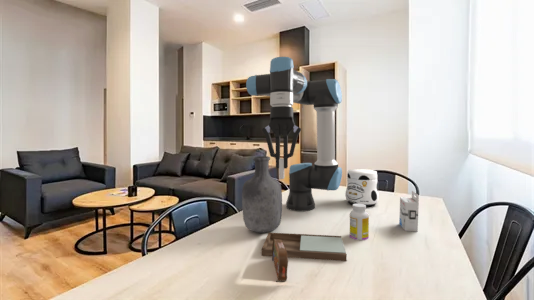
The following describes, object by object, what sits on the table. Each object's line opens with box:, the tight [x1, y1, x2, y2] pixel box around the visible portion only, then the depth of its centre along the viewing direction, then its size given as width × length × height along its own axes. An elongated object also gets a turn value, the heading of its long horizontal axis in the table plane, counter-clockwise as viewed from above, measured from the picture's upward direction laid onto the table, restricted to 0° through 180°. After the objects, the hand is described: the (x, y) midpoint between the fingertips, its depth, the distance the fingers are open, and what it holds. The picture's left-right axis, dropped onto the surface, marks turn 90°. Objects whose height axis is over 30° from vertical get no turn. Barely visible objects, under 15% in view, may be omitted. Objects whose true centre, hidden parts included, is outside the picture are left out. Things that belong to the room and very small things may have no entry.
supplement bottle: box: [349, 204, 370, 241], centre depth 101 cm, size 7×7×13 cm
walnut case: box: [260, 232, 348, 262], centre depth 91 cm, size 15×26×3 cm, turn 81°
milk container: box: [344, 168, 380, 207], centre depth 149 cm, size 17×17×18 cm
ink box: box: [398, 190, 420, 232], centre depth 112 cm, size 9×5×15 cm, turn 168°
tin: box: [271, 239, 289, 282], centre depth 77 cm, size 15×3×8 cm, turn 5°
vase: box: [241, 155, 283, 234], centre depth 110 cm, size 16×16×30 cm
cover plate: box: [300, 235, 347, 254], centre depth 90 cm, size 12×14×2 cm
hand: (281, 178), depth 90 cm, fingers closed
